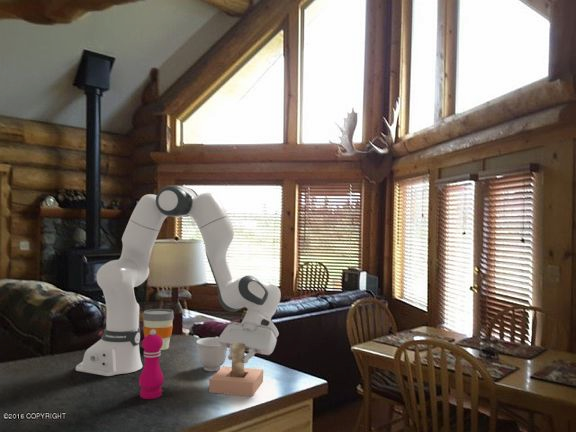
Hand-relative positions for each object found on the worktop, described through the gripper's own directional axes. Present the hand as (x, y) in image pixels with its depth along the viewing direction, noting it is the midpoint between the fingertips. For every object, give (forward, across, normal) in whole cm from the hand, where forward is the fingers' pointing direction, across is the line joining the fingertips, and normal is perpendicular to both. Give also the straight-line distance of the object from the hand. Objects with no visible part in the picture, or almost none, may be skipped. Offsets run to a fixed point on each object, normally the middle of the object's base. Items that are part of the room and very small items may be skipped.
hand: (237, 360), depth 155 cm
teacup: (-2, -19, +14) cm, 24 cm away
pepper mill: (+21, -17, -8) cm, 28 cm away
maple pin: (+4, 0, +5) cm, 6 cm away
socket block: (+6, 0, +6) cm, 9 cm away
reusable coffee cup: (-8, -55, +20) cm, 59 cm away
